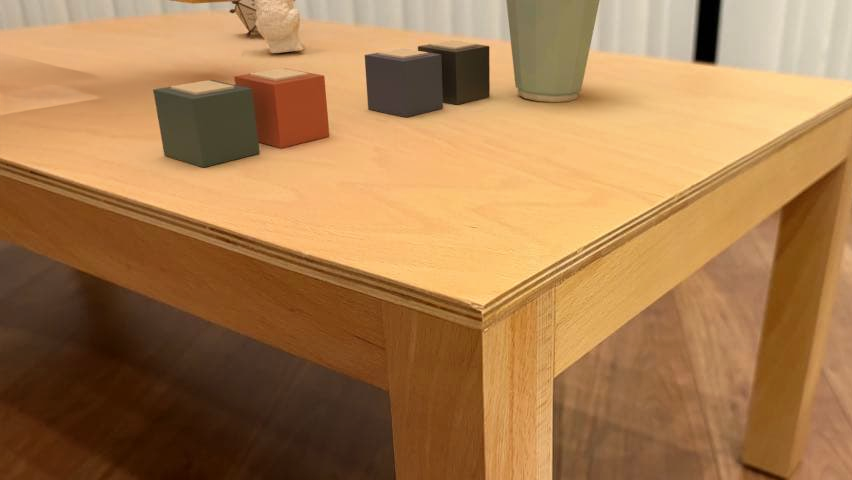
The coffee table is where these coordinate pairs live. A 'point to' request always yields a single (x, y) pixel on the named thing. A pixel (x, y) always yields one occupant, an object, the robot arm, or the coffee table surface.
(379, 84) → the block
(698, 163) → the coffee table surface
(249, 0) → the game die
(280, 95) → the block
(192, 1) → the yellow cube block
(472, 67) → the block
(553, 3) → the disposable coffee cup
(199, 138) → the block
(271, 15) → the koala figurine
